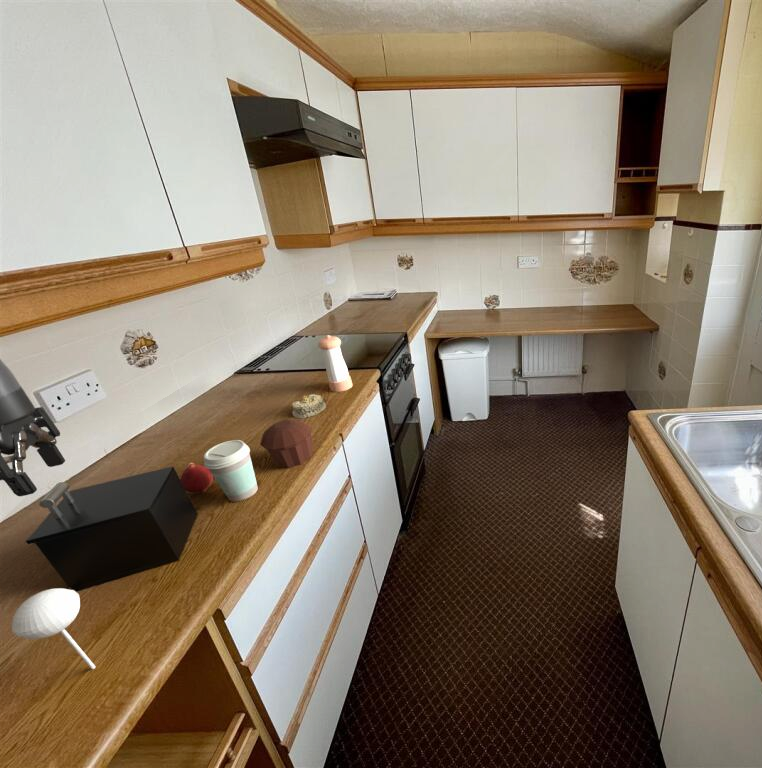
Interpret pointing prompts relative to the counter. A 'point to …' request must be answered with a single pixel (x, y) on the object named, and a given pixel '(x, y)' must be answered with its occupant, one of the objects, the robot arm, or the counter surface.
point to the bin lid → (99, 503)
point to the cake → (308, 406)
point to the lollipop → (49, 617)
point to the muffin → (288, 442)
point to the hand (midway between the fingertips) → (43, 478)
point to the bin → (125, 542)
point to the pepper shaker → (335, 364)
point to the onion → (196, 478)
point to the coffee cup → (232, 469)
